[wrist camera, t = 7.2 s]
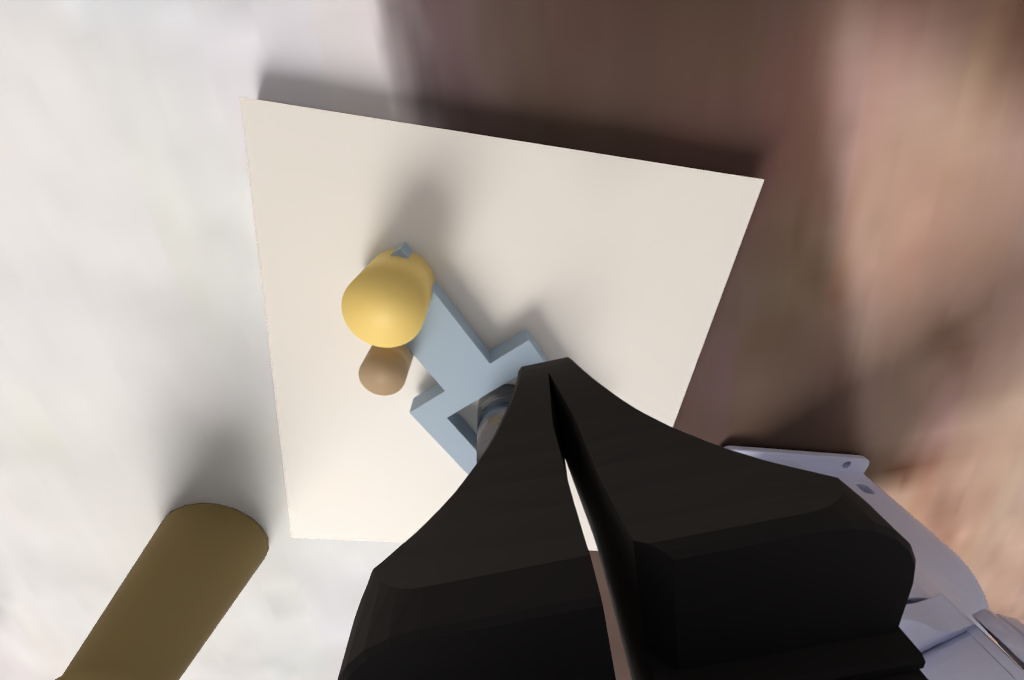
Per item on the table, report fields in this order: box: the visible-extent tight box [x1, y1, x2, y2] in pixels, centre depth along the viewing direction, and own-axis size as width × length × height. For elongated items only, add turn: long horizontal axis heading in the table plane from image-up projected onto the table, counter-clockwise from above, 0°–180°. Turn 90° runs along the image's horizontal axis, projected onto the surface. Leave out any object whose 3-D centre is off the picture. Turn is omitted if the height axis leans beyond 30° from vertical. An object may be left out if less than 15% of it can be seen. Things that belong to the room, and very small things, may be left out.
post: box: [477, 384, 515, 462], centre depth 19 cm, size 3×3×5 cm
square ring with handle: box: [341, 242, 549, 475], centre depth 18 cm, size 13×6×3 cm, turn 33°
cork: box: [55, 503, 269, 680], centre depth 20 cm, size 6×6×11 cm
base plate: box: [240, 97, 764, 551], centre depth 21 cm, size 20×22×1 cm
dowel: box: [358, 344, 414, 396], centre depth 18 cm, size 2×2×4 cm
